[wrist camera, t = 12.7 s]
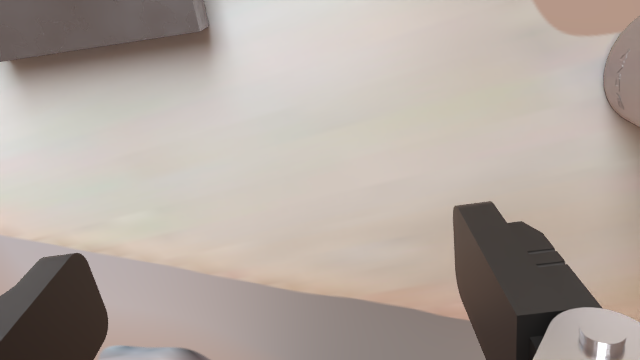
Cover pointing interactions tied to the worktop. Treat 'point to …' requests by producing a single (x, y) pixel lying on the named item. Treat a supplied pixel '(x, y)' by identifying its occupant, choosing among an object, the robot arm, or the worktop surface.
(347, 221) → the worktop surface
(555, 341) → the robot arm
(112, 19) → the hole block
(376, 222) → the worktop surface
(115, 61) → the worktop surface
